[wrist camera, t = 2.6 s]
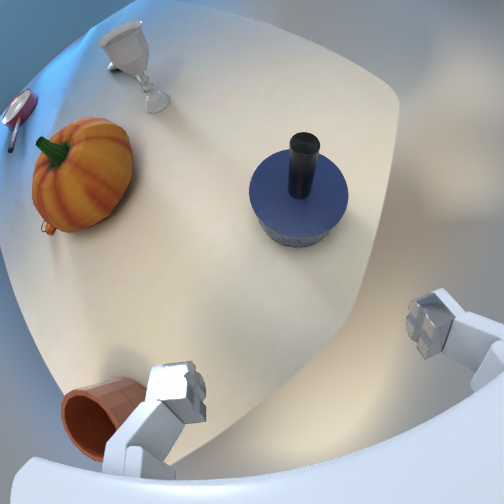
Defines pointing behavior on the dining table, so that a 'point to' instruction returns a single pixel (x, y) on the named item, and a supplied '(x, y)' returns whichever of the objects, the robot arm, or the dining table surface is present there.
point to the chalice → (133, 59)
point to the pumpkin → (81, 173)
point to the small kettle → (49, 229)
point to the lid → (299, 190)
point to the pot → (99, 413)
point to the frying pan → (19, 113)
